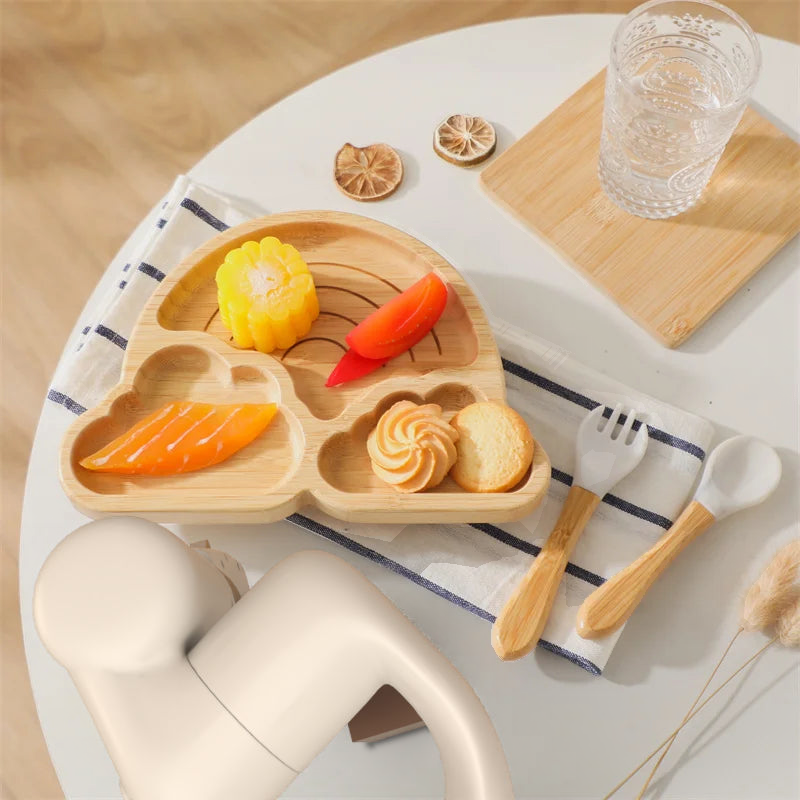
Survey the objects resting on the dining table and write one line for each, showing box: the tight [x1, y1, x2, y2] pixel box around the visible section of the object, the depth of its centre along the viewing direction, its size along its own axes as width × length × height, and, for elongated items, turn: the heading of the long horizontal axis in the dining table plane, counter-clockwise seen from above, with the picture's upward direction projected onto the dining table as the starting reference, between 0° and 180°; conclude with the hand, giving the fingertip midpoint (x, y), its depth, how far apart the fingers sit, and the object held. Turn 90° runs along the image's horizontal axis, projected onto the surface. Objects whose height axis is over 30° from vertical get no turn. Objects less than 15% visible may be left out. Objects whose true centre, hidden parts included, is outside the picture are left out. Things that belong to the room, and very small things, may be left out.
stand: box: [347, 684, 427, 743], centre depth 95 cm, size 7×7×26 cm
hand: (239, 650), depth 68 cm, fingers closed on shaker, 4 cm apart
